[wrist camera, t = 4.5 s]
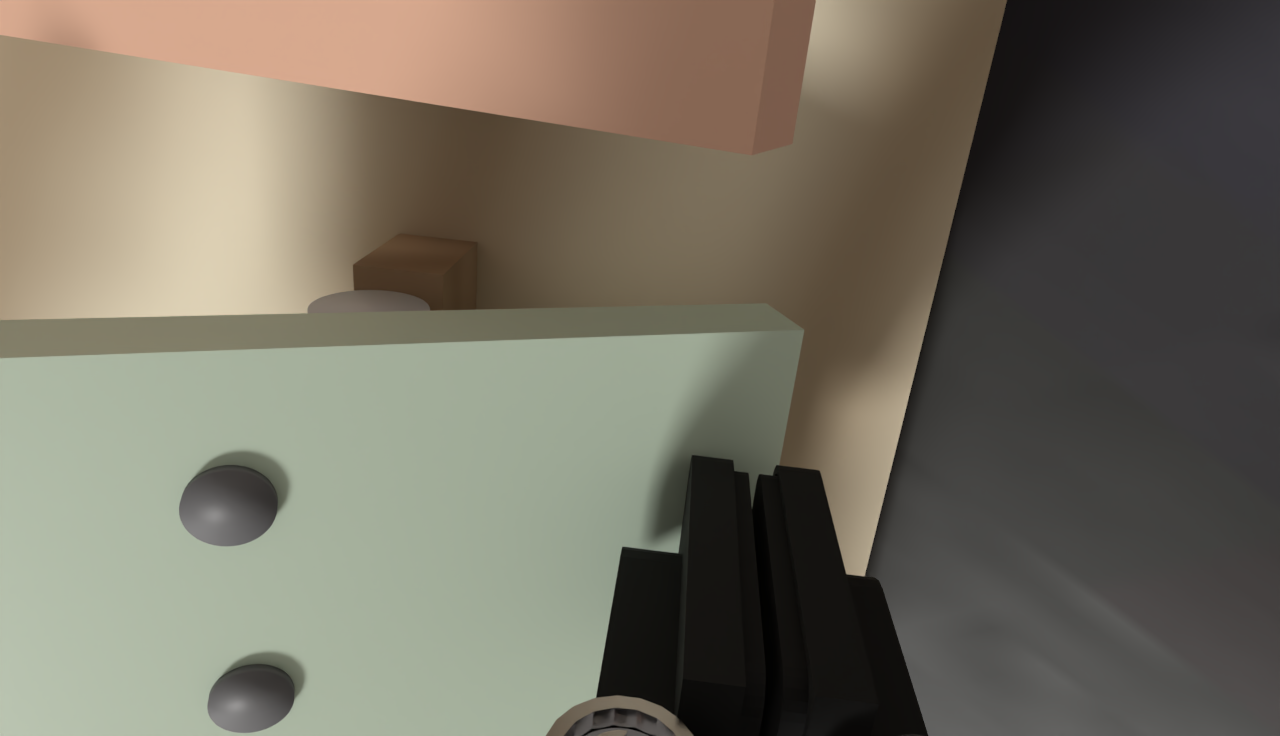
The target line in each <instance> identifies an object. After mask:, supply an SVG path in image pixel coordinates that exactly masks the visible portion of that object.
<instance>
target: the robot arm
mask: <svg viewBox="0 0 1280 736" xmlns="http://www.w3.org/2000/svg"><path fill="white" fill-rule="evenodd" d="M546 736H928V734H927V730H926V727H925V724H924V721H923V717H922V714H921V711H920V708H919V705H918V701H917V698H916V695H915V692H914V689H913V685H912V682H911V679H910V676H909V672H908V669H907V666H906V663H905V660H904V656H903V653H902V650H901V647H900V644H899V640H898V637H897V634H896V631H895V627H894V624H893V621H892V618H891V615H890V611H889V608H888V605H887V602H886V599H885V595H884V592H883V589H882V587H881V584H880V582H879V580H877V579H876V578H873V577H865V576H857V575H849V574H846V571H845V567H844V563H843V559H842V555H841V551H840V547H839V543H838V539H837V535H836V532H835V528H834V524H833V520H832V516H831V512H830V508H829V504H828V500H827V496H826V492H825V488H824V484H823V480H822V476H821V473H820V471H819V470H814V469H806V468H798V467H789V466H781V465H776V467H775V469H774V472H773V476H772V475H764V474H759V476H758V479H757V483H756V489H755V494H754V500H753V506H752V504H751V493H750V482H749V473H746V472H738V471H734V462H733V460H730V459H722V458H713V457H705V456H697V455H692V456H691V462H690V469H689V476H688V484H687V491H686V499H685V506H684V514H683V521H682V529H681V537H680V544H679V552H678V553H671V552H663V551H655V550H647V549H639V548H631V547H622V550H621V555H620V561H619V567H618V573H617V578H616V584H615V590H614V596H613V602H612V607H611V613H610V619H609V625H608V631H607V637H606V642H605V648H604V654H603V660H602V666H601V671H600V677H599V683H598V689H597V695H596V698H593V699H591V700H588V701H586V702H583V703H580V704H578V705H575V706H573V707H572V708H571V709H569V710H568V711H567V712H565V713H564V714H563V715H562V716H560V717H559V718H558V719H556V721H555V722H554V724H553V725H552V727H551V728H550V730H549V731H548V733H547V734H546Z"/></svg>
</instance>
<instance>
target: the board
mask: <svg viewBox="0 0 1280 736" xmlns="http://www.w3.org/2000/svg"><path fill="white" fill-rule="evenodd" d="M1006 2H1007V0H816V4H815V10H814V16H813V22H812V28H811V34H810V40H809V46H808V52H807V58H806V64H805V70H804V76H803V83H802V89H801V95H800V101H799V107H798V113H797V119H796V125H795V131H794V137H793V143H792V144H790V145H787V146H783V147H780V148H776V149H773V150H769V151H765V152H762V153H758V154H755V155H747V154H741V153H734V152H728V151H722V150H716V149H709V148H703V147H697V146H691V145H684V144H678V143H672V142H666V141H659V140H653V139H647V138H641V137H634V136H628V135H622V134H616V133H610V132H603V131H597V130H591V129H585V128H578V127H572V126H566V125H560V124H553V123H547V122H541V121H535V120H528V119H522V118H516V117H510V116H503V115H497V114H491V113H485V112H478V111H472V110H466V109H460V108H453V107H447V106H441V105H435V104H429V103H422V102H416V101H410V100H404V99H397V98H391V97H385V96H379V95H372V94H366V93H360V92H354V91H347V90H341V89H335V88H329V87H322V86H316V85H310V84H304V83H297V82H291V81H285V80H279V79H273V78H266V77H260V76H254V75H248V74H241V73H235V72H229V71H223V70H216V69H210V68H204V67H198V66H191V65H185V64H179V63H173V62H166V61H160V60H154V59H148V58H141V57H135V56H129V55H123V54H117V53H110V52H104V51H98V50H92V49H85V48H79V47H73V46H67V45H60V44H54V43H48V42H42V41H35V40H29V39H23V38H17V37H10V36H4V35H0V320H26V319H72V318H117V317H163V316H208V315H254V314H299V313H308V312H307V309H308V306H309V305H310V304H311V303H312V302H313V301H315V300H316V299H319V298H321V297H324V296H327V295H330V294H334V293H339V292H346V291H356V290H384V291H393V292H400V293H405V294H409V295H412V296H415V297H418V298H420V299H422V300H424V301H425V302H426V303H427V304H428V305H429V307H430V311H436V310H481V309H527V308H572V307H618V306H663V305H709V304H754V303H767V304H768V305H770V306H771V307H772V308H774V309H775V310H777V311H778V312H780V313H781V314H783V315H784V316H785V317H787V318H788V319H790V320H791V321H793V322H794V323H795V324H797V325H798V326H800V327H801V328H803V329H804V335H803V340H802V346H801V351H800V356H799V362H798V367H797V372H796V378H795V383H794V389H793V394H792V399H791V405H790V410H789V415H788V421H787V426H786V432H785V437H784V442H783V448H782V453H781V458H780V464H779V465H781V466H789V467H798V468H806V469H814V470H819V471H820V473H821V476H822V480H823V484H824V488H825V492H826V496H827V500H828V504H829V508H830V512H831V516H832V520H833V524H834V528H835V532H836V535H837V539H838V543H839V547H840V551H841V555H842V559H843V563H844V567H845V571H846V574H849V575H857V576H865V572H866V568H867V564H868V560H869V556H870V552H871V548H872V544H873V540H874V536H875V532H876V528H877V524H878V520H879V516H880V512H881V508H882V504H883V500H884V496H885V492H886V488H887V483H888V479H889V475H890V471H891V467H892V463H893V459H894V455H895V451H896V447H897V443H898V439H899V435H900V431H901V427H902V423H903V419H904V415H905V411H906V407H907V403H908V399H909V395H910V391H911V386H912V382H913V378H914V374H915V370H916V366H917V362H918V358H919V354H920V350H921V346H922V342H923V338H924V334H925V330H926V326H927V322H928V318H929V314H930V310H931V306H932V302H933V298H934V293H935V289H936V285H937V281H938V277H939V273H940V269H941V265H942V261H943V257H944V253H945V249H946V245H947V241H948V237H949V233H950V229H951V225H952V221H953V217H954V213H955V209H956V205H957V201H958V196H959V192H960V188H961V184H962V180H963V176H964V172H965V168H966V164H967V160H968V156H969V152H970V148H971V144H972V140H973V136H974V132H975V128H976V124H977V120H978V116H979V112H980V108H981V104H982V99H983V95H984V91H985V87H986V83H987V79H988V75H989V71H990V67H991V63H992V59H993V55H994V51H995V47H996V43H997V39H998V35H999V31H1000V27H1001V23H1002V19H1003V15H1004V11H1005V7H1006Z"/></svg>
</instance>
